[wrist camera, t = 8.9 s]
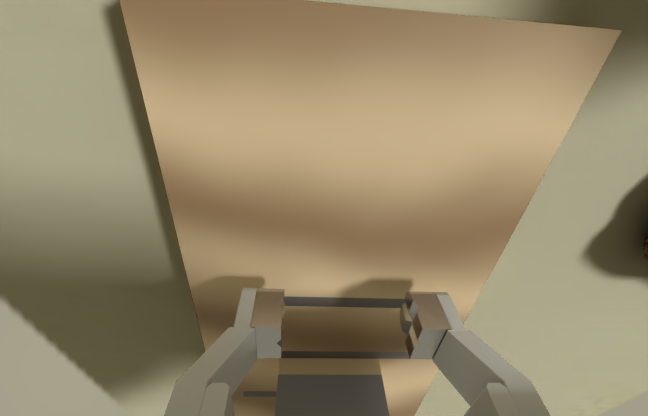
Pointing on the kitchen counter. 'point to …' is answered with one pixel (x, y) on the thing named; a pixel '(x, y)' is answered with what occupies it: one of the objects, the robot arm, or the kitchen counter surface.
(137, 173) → the kitchen counter surface
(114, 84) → the kitchen counter surface
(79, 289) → the kitchen counter surface
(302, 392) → the block
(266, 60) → the board
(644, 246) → the oyster shell
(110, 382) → the kitchen counter surface
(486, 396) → the robot arm
